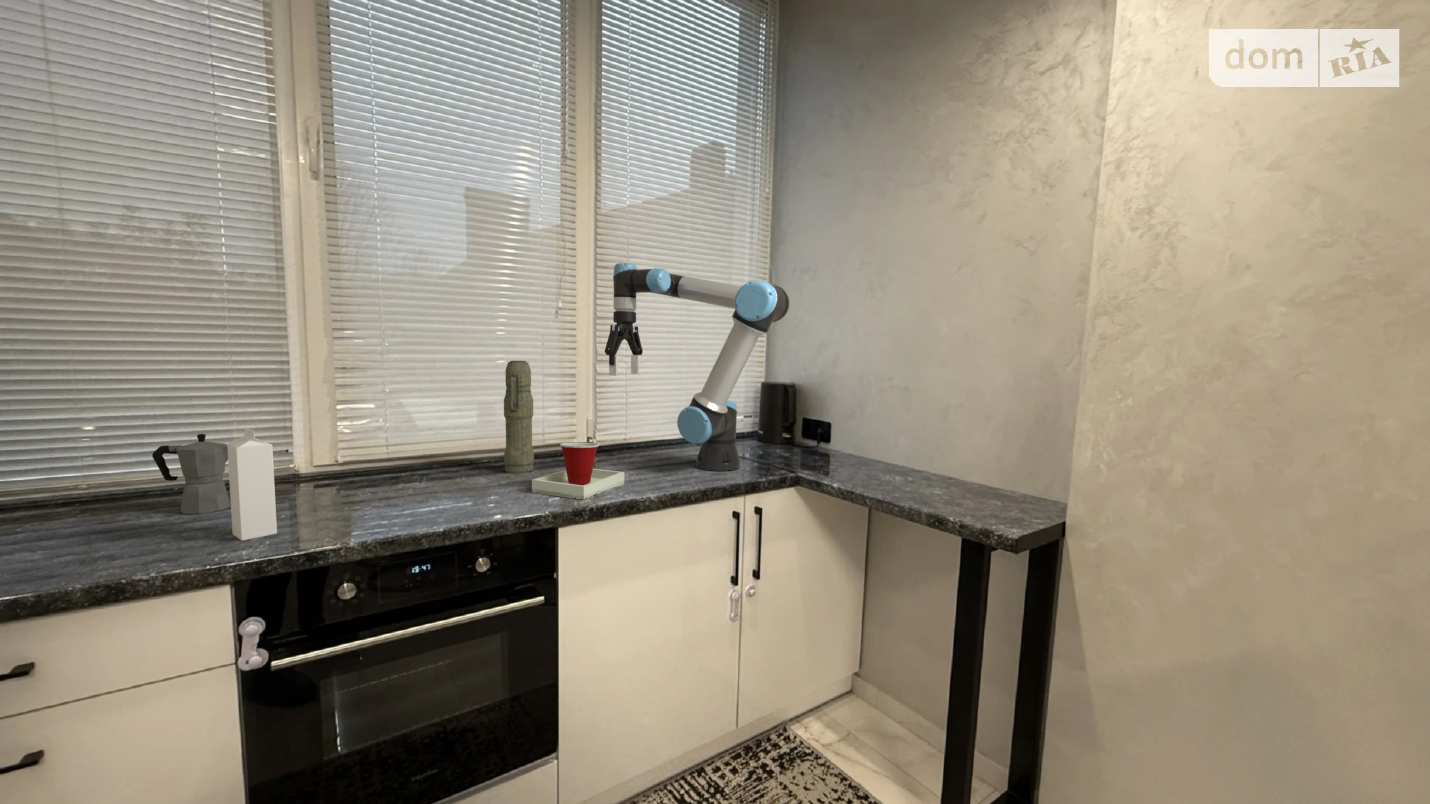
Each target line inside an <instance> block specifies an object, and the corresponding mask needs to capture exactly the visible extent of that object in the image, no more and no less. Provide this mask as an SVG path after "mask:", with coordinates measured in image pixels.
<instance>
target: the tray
mask: <svg viewBox="0 0 1430 804" xmlns="http://www.w3.org/2000/svg"><path fill="white" fill-rule="evenodd" d="M623 485H625V471H617V470H609V469H599V468H593V471H592V475H591V481H590V483H589V484H586V485H583V486H582V485H575V484H569V483H568V477H567V473H566V469H564V470H560V471H557V472H553V473H550V474H546V475H544V476H540V477H537V478H533V479H531V493H532V494H533V493H534V494H541V495H548V496H555V497H560V498H561V497H562V498H569V499H574V498H576V499H575V500H581V499H585V498H587V499H590V498H592V497H594V496H593V495H595V494H598V495H600V494H602V493H601V492H603V493H605V492H607V491H610V490H613V489H615V488H617V487H620V486H623ZM614 487H615V488H614ZM612 488H613V489H612ZM604 491H605V492H604ZM591 496H592V497H591ZM595 496H596V495H595ZM589 497H590V498H589ZM585 500H586V499H585Z"/></svg>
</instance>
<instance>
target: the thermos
mask: <svg viewBox="0 0 1430 804" xmlns="http://www.w3.org/2000/svg"><path fill="white" fill-rule="evenodd" d="M531 370H532V369H531V366H530V363H529V362H528V361H526V360H510V361H508V362H507V364H506V367H505V386H506V389H505V395H504V397H503V417H504V419H505V450H504V454H503V456H504V457H503V461H504V462H503V463H504V466H505V467H504V468H505V469H504V472H505V471H506V472H505V473H507V472H509V473H508V474H514V473H516V474H526V473H525V472H528V473H530V472H529V471H531V470H533V469H534V462H535V453H534V448H533V416H534V397H533V395H532V390H531V386H532V371H531ZM533 471H534V470H533ZM531 472H532V471H531Z"/></svg>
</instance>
